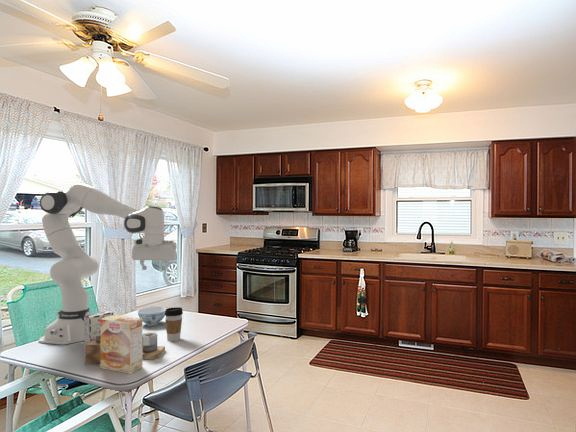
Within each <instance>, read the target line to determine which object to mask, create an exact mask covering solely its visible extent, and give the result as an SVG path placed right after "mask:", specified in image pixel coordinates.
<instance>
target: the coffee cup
mask: <svg viewBox="0 0 576 432" xmlns="http://www.w3.org/2000/svg"><path fill="white" fill-rule="evenodd" d="M183 314H184V312H183V308H182V307H179V306H178V307H169V308H166V310H165V328H166V340H167V342H172V343H174V342H177V341H180V340H181V332H182V322H183Z"/></svg>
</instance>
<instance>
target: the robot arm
mask: <svg viewBox="0 0 576 432" xmlns="http://www.w3.org/2000/svg"><path fill="white" fill-rule="evenodd" d="M39 206H40V208H41V210H42V211H44V212H45V213H46V214H44V215H43V216H42V218H41V222H42V228H43V230H44V234H45V236H46V238H47V241H48V243H49V245H50V247H51V250H52V252H53V253H54V254H56V255H58V256H59V257H61V258H62V259H61V260H60V261H57V262H55V263H54V264H52V266H50V270H49V276H50V278H51V279H52V281H54V282H55V283H56V284H57V285H58V287H59V289H60V292H61V301H62V303H61V304H62V306H61V307H62V309H60V310H59V311H58V312H57V313H56V316H58V318H56V320H55V319H54V321H52V322H51V323H50V324H49V325H47V326H46V328H45V329H44V330H45V331H44V335H43V336H41V337H39V339H38V343H41V344H42V343H43V344H52V345H53V344H54V345H55V344H56V345H63V346H64V345H68V344H71V343H73V344H74V343H78V342H82V341H84V316H87V315H90V307H89V291H88V290H87V289H86V288H84V285H83V282H82V280H85V279H88V278H90V277H92V276H94V275H95V274H96V273H97V272H98V271H99V270H98V269H99V263H98V261H97V259H96V258H94V257H92V256H90V254H88V253H87V252H86V250H84V248H82V246H81V245H80V243H79V242H78V240H77V238H76V236H75V234H74V232H73V229H72V227H71V225H70V223H69V218H74V217H75V216H76V215H77V214H79V213H80V212H82V210H83V209H84V210H86V211H89V212H91V213H93V214H97V215H106V216H107V215H109V216H116V217H120V218H122V219H124V221H123V226H124V229H125V230H126V232H129V234H144V237H140V238H137V239H135V240H133V246H132V250H131V259H132V260H133V261H139V264H140V265H141V270H142V271H146V270H147V267H148V266H147V265H145V261H164V265H163V266H162V267H161V269H162V271H166V270H167V266H168V264H169V263H170V261H175V260H176V259H177V250H176V249H177V243H176V241H174V240H165V230H164V227H165V213H164V210H163V209H162V207H159V206H155V205H154V206H153V205H147V206H145V207H144V208H143V209H141V210H137V209H135V208H133V207H130V206H128V205H126V204H124V203H122V202H120V201H118V200H116V198H113V197H111V196H109V195H108V194H106V193H104V192H103V191H101V190H100V189H98V188H97V187H93V186H91V185H89V184H86V183H82V182H76V183H74V184H72V185H71V186H70V188H68V190H67V191H62V190H57V191H56V190H55V191H49V192H46V193H44V194H43V195H42V196H41V197H40V200H39Z"/></svg>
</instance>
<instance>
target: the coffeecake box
mask: <svg viewBox="0 0 576 432" xmlns="http://www.w3.org/2000/svg"><path fill="white" fill-rule="evenodd" d="M142 334H143V321H142V319H141V318H139V317H133V316H131V317H130V316H125V315H118V314H117V315H116V314H113V315H112V316H108V317H105V318H102V319H101V365H100V367H99V369H104V370H108V371H114V372H119V373H123V374H124V373H125V374H129V375H131V374H133V373H134V372H136V371H138V370H140V369H142V368H143V359H142Z"/></svg>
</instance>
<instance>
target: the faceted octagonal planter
mask: <svg viewBox="0 0 576 432" xmlns="http://www.w3.org/2000/svg"><path fill="white" fill-rule="evenodd" d="M148 333H152V335H151V336H147V334H148ZM156 343H157V344H158V333H156V332H146V333H142V345H143V346H150V345H154V344H156Z"/></svg>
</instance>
